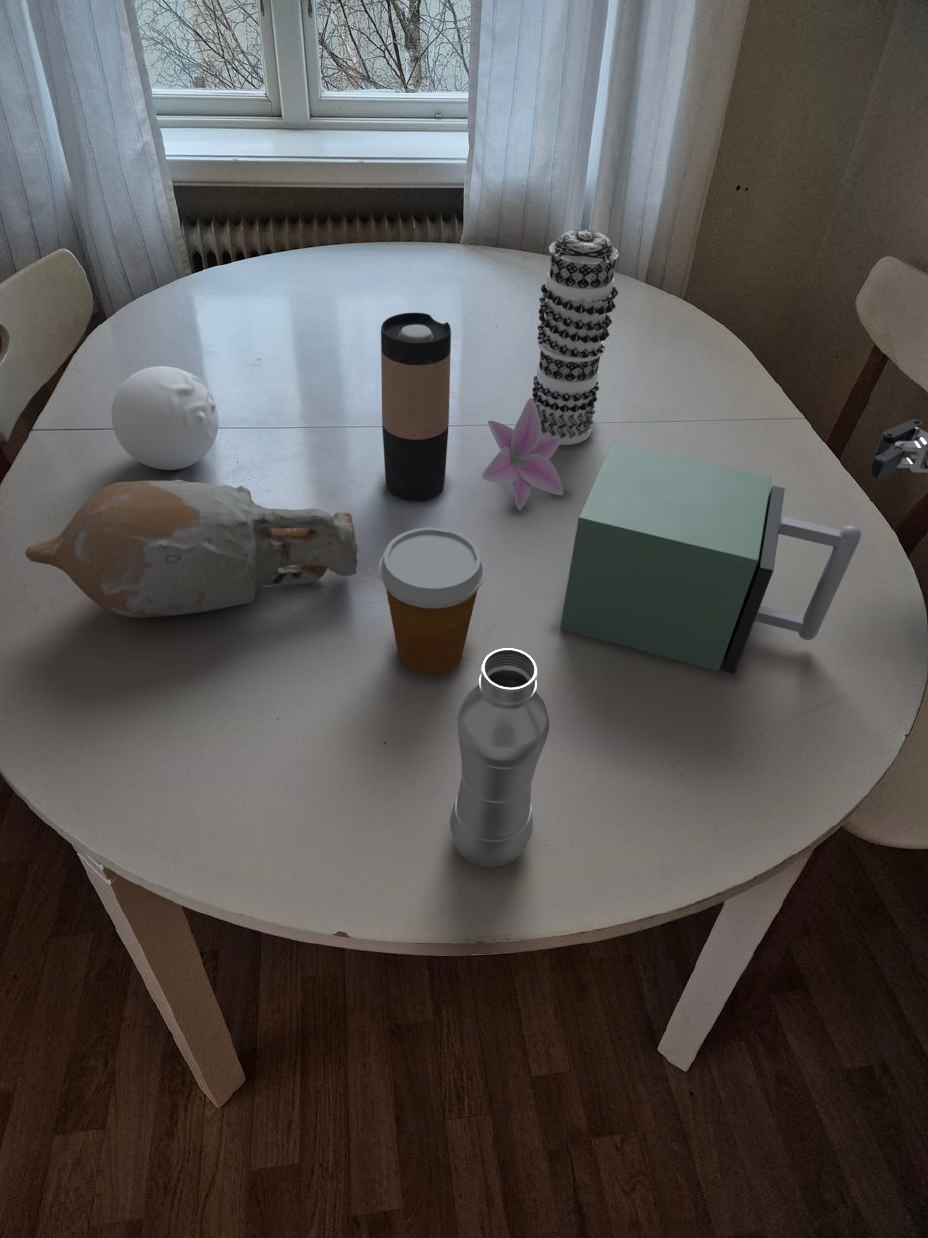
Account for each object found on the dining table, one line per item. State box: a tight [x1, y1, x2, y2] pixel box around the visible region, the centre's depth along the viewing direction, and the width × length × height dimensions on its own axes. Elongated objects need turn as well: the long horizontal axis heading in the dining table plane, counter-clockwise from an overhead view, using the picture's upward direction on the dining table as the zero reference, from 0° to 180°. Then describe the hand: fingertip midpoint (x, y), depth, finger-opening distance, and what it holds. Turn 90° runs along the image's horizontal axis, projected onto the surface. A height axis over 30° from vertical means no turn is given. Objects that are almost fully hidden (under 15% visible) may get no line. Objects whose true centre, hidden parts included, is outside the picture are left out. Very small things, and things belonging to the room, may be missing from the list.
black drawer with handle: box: [721, 485, 862, 675], centre depth 84 cm, size 22×14×15 cm, turn 70°
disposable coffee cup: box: [378, 526, 487, 676], centre depth 80 cm, size 10×10×12 cm
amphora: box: [25, 479, 359, 619], centre depth 84 cm, size 14×16×30 cm
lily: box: [481, 397, 565, 511], centre depth 103 cm, size 12×12×10 cm
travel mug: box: [380, 312, 452, 502], centre depth 98 cm, size 8×8×20 cm
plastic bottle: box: [449, 647, 550, 869], centre depth 62 cm, size 6×7×20 cm
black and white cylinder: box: [531, 229, 620, 446], centre depth 107 cm, size 9×9×25 cm
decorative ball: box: [110, 365, 220, 471], centre depth 102 cm, size 12×12×12 cm
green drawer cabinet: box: [559, 441, 772, 672], centre depth 86 cm, size 16×14×14 cm
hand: (916, 491), depth 83 cm, fingers open, 8 cm apart
